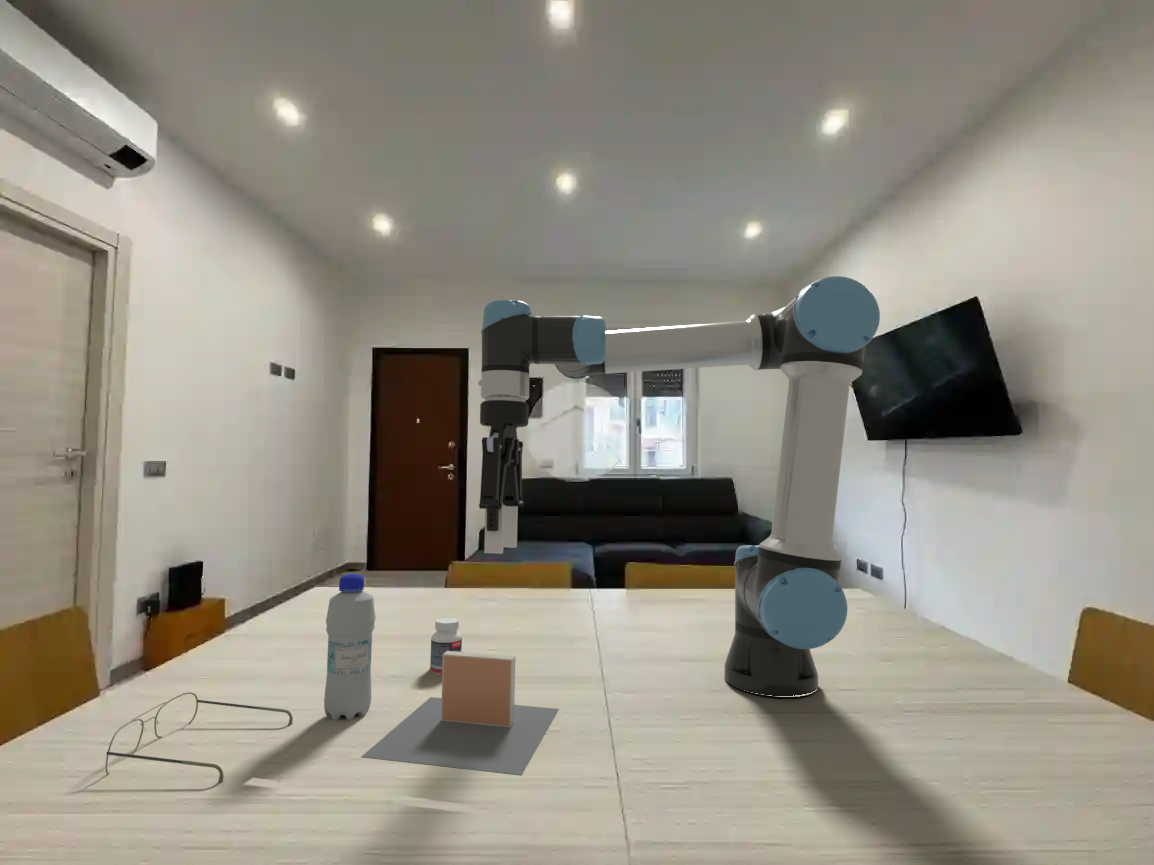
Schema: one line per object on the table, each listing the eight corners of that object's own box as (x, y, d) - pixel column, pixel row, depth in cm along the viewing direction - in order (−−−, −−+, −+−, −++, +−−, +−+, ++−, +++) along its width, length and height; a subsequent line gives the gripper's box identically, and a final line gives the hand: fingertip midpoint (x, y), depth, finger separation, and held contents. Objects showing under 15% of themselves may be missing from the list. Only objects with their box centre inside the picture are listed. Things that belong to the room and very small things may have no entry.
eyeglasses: (186, 723, 86) (188, 686, 86) (292, 727, 85) (294, 689, 86) (92, 782, 70) (95, 736, 70) (222, 786, 70) (225, 740, 70)
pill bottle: (453, 678, 105) (455, 625, 105) (424, 676, 106) (426, 623, 106) (465, 668, 110) (466, 617, 110) (437, 666, 111) (439, 615, 111)
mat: (559, 713, 91) (559, 708, 91) (521, 780, 71) (521, 774, 71) (430, 701, 94) (430, 697, 94) (360, 761, 75) (361, 756, 75)
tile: (513, 722, 86) (515, 656, 86) (510, 727, 84) (512, 659, 84) (445, 715, 87) (447, 650, 88) (440, 720, 86) (442, 654, 86)
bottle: (324, 729, 84) (330, 579, 85) (319, 711, 90) (325, 571, 91) (376, 720, 87) (381, 576, 88) (368, 704, 93) (372, 568, 94)
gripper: (500, 407, 107) (497, 541, 106) (458, 393, 88) (454, 557, 87) (543, 407, 106) (540, 543, 105) (509, 393, 87) (505, 560, 86)
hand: (501, 549), depth 96 cm, fingers open, 6 cm apart
